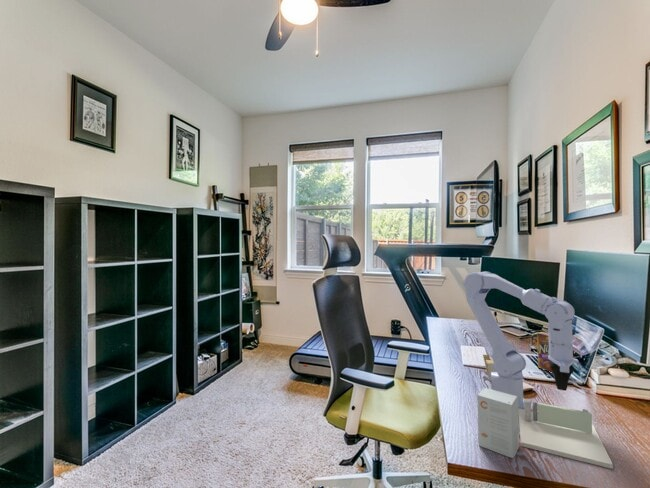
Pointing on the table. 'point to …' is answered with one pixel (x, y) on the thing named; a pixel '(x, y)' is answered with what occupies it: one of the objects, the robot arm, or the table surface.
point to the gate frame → (561, 439)
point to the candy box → (543, 351)
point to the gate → (563, 417)
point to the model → (489, 365)
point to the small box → (498, 422)
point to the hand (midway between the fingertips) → (561, 389)
